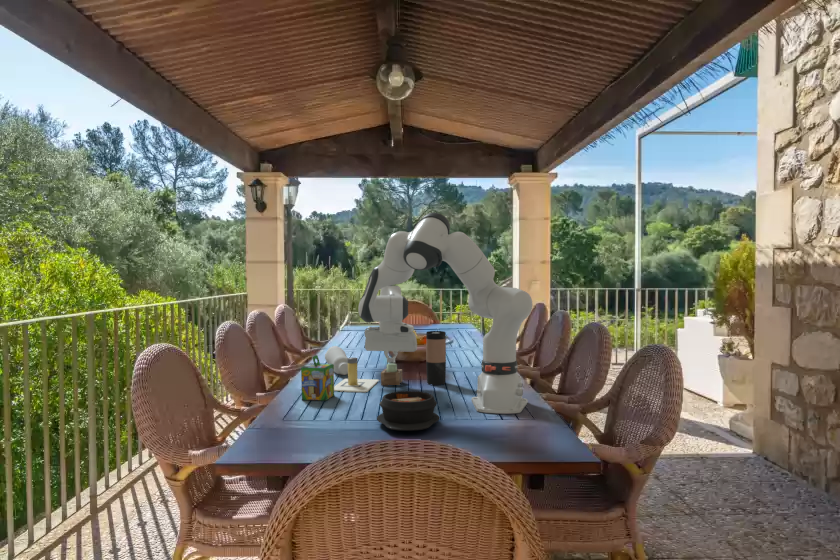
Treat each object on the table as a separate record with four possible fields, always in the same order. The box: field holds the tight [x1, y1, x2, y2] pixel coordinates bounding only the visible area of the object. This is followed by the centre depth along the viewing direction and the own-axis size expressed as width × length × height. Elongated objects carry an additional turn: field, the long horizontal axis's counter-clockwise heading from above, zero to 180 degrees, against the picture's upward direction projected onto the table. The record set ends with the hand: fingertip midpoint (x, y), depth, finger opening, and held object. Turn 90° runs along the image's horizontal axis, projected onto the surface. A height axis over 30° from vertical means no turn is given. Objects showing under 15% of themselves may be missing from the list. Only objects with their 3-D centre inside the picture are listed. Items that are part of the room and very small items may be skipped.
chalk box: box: [300, 354, 335, 402], centre depth 209 cm, size 9×9×15 cm
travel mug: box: [425, 330, 447, 386], centre depth 232 cm, size 8×8×20 cm
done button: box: [386, 363, 398, 372], centre depth 231 cm, size 4×4×6 cm
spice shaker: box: [347, 357, 359, 385], centre depth 228 cm, size 4×4×10 cm
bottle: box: [324, 345, 348, 376], centre depth 258 cm, size 9×9×30 cm
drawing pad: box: [334, 378, 380, 393], centre depth 228 cm, size 20×14×1 cm
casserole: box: [376, 390, 441, 432], centre depth 176 cm, size 25×19×8 cm
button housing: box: [380, 368, 403, 386], centre depth 232 cm, size 7×7×5 cm
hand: (391, 362), depth 231 cm, fingers closed
